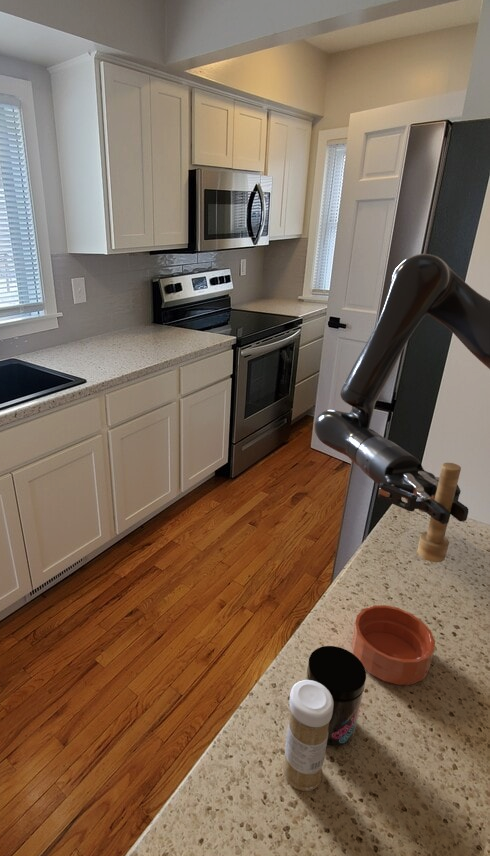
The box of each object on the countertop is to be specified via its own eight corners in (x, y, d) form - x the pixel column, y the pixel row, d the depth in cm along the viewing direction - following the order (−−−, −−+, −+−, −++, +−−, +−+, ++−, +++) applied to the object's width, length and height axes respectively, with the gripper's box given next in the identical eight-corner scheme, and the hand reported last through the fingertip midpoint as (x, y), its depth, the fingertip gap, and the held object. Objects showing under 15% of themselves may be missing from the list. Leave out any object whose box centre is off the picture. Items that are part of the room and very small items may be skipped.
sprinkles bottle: (308, 749, 61) (319, 673, 55) (328, 787, 57) (342, 709, 51) (275, 759, 60) (283, 683, 54) (293, 798, 56) (303, 720, 50)
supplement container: (321, 758, 60) (331, 700, 55) (291, 710, 66) (297, 654, 61) (366, 739, 62) (378, 681, 57) (332, 694, 68) (341, 639, 63)
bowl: (398, 623, 79) (403, 600, 77) (444, 680, 69) (452, 655, 67) (338, 634, 77) (341, 610, 75) (376, 694, 67) (382, 668, 65)
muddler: (433, 545, 80) (454, 458, 73) (451, 560, 76) (474, 471, 70) (411, 548, 79) (430, 461, 73) (428, 564, 76) (449, 474, 69)
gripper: (353, 449, 84) (418, 501, 69) (425, 441, 86) (504, 489, 71) (348, 487, 87) (409, 545, 72) (418, 477, 89) (492, 532, 74)
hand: (456, 517), depth 71 cm, fingers closed on muddler, 2 cm apart
